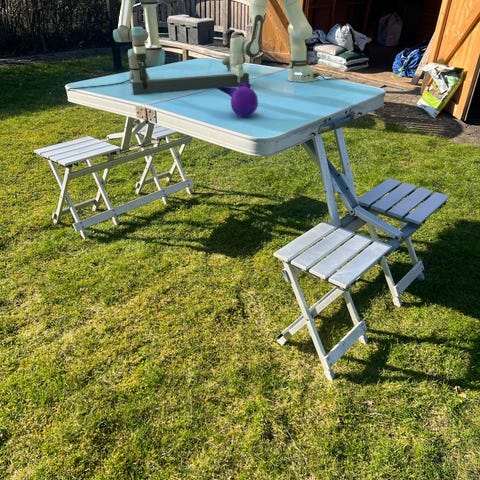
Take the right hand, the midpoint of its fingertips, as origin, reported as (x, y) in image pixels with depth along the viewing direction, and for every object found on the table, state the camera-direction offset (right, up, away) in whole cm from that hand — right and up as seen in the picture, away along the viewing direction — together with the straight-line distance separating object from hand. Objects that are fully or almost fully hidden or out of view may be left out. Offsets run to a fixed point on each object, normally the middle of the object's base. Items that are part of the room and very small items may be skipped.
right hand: (237, 81), depth 319 cm
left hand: (-63, -10, -17) cm, 66 cm away
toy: (+2, -42, -66) cm, 78 cm away
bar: (-31, -8, -7) cm, 33 cm away
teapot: (-3, +27, +52) cm, 59 cm away
